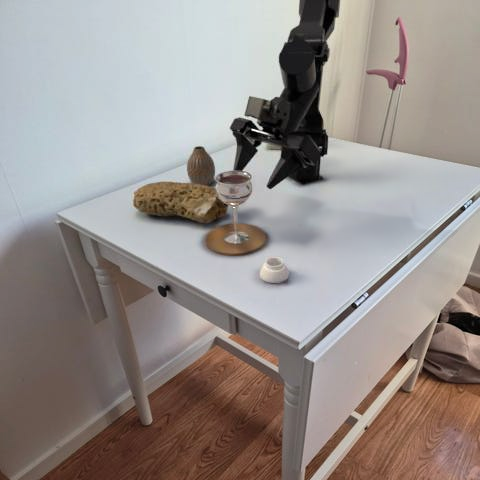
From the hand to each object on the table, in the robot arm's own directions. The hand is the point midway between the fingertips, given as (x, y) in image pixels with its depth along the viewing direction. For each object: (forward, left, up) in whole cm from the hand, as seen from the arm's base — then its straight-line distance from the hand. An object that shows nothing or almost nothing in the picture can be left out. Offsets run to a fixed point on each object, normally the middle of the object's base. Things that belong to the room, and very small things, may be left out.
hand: (250, 181), depth 79 cm
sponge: (+9, -15, -11) cm, 21 cm away
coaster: (+4, +1, -10) cm, 11 cm away
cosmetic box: (-33, -41, -11) cm, 54 cm away
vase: (-2, -29, -11) cm, 31 cm away
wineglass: (+4, +1, -10) cm, 11 cm away
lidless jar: (+5, +16, -11) cm, 20 cm away
